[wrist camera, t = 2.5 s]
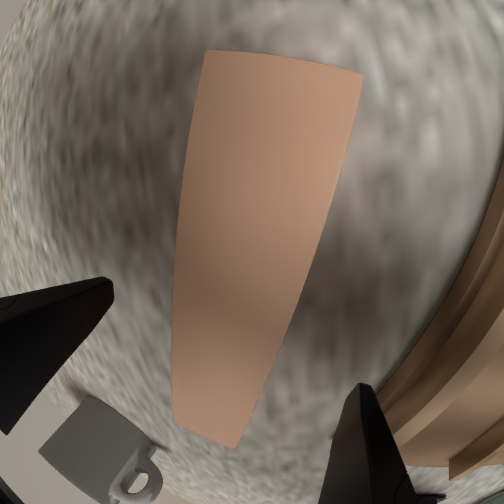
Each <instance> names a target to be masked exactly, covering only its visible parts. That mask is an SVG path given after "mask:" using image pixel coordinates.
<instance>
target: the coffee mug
mask: <svg viewBox="0 0 504 504" xmlns="http://www.w3.org/2000/svg"><path fill="white" fill-rule="evenodd" d="M155 451H156V448H155V446H154V444H153V443H152V442H151V441H150V439H149V438H148V437H147V436H146V435H145V434H144V433H143V432H142V431H141V430H140V429H138V428H137V427H136V426H135V425H134V424H133V423H131V422H130V421H129V420H128V419H126V418H125V417H124V416H123V415H121V414H120V413H119V412H117V411H116V410H115V409H113V408H112V407H110V406H109V405H107V404H105V403H104V402H102V401H100V400H99V399H96V398H94V397H87V398H86V399H85V400H84V401H83V402H82V404H81V405H80V406H79V407H78V408H77V409H76V410H75V411H74V412H73V413H72V414H71V415H70V416H69V417H68V419H67V420H66V421H65V422H64V423H63V424H62V425H61V426H60V427H59V428H58V429H57V431H56V432H55V433H54V434H53V435H52V436H51V437H50V438H49V439H48V440H47V441H46V443H45V444H44V445H43V446H42V447H41V448H40V449H39V451H38V452H39V453H40V454H41V455H42V456H43V457H44V459H46V461H48V463H50V464H51V465H52V466H53V467H54V468H55V469H56V470H57V471H58V472H59V473H60V474H62V475H63V476H64V477H65V478H66V479H67V480H69V481H70V482H71V483H73V484H74V485H75V486H76V487H78V488H79V489H80V490H81V491H83V492H84V493H86V494H87V495H88V496H90V497H91V498H93V499H94V500H96V501H97V502H99V503H100V504H118V503H119V502H120V501H122V502H124V503H126V504H150V503H151V502H153V501H154V500H155V499H156V497H157V496H158V494H159V493H160V490H161V488H162V484H163V478H162V474H161V472H160V471H159V469H158V467H157V466H156V465H155V464H154V463H153V462H152V461H151V459H150V458H151V457H152V455H153V454H154V452H155ZM140 473H147V474H148V482H147V484H146V486H145V487H144V488H143V489H142V490H141V491H139V492H137V493H128V490H129V488H130V487H131V485H132V484H133V482H134V481H135V480H136V478H137V477H138V475H139V474H140Z"/></svg>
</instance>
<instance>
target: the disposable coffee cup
mask: <svg viewBox="0 0 504 504" xmlns="http://www.w3.org/2000/svg"><path fill="white" fill-rule="evenodd" d="M480 504H504V491H502V492H499V493H497V494H495V495H493V496H491V497H489V498H487V499H485V500H483V501H482V502H480Z"/></svg>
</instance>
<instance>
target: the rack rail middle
mask: <svg viewBox="0 0 504 504" xmlns="http://www.w3.org/2000/svg"><path fill="white" fill-rule="evenodd" d="M503 450H504V418H503V419H501V420H500V421H499V422H498V423H497V424H496V425H495V426H494V427H492V428H491V429H490V430H489V431H488V432H487V433H485V434H484V435H483V436H482V437H481V438H479V439H478V440H477V441H475V442H474V443H473V444H472V445H470V446H469V447H468V448H466V449H465V450H464V451H462V452H461V453H459V454H458V455H457V456H455V457H454V458H452V459H451V460H449V481H453V480H460V479H462V478H464V477H465V476H467V475H469V474H470V473H472V472H473V471H475V470H476V469H478V468H479V467H481V466H482V465H484V464H485V463H487V462H488V461H490V460H491V459H492V458H494V457H495V456H497V455H498V454H499V453H501V452H502V451H503Z"/></svg>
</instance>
